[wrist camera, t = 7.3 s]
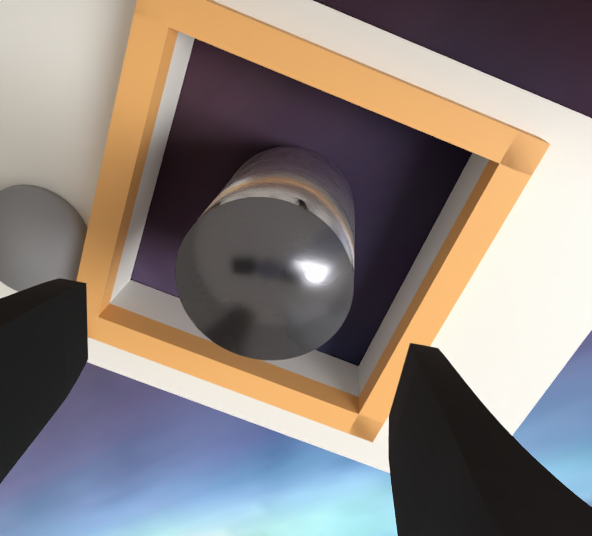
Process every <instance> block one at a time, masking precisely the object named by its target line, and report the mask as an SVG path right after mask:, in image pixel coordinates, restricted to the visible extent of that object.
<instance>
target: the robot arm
mask: <svg viewBox="0 0 592 536" xmlns="http://www.w3.org/2000/svg"><path fill="white" fill-rule="evenodd" d="M87 361H88V331H87V289H86V283H83V282H78V281H73V280H67V279H62V278H58V279H54V280H51V281H47V282H44V283H41V284H38V285H36V286H33V287H30V288H27V289H24V290H22V291H19V292H16V293H14V294H11V295H8V296H6V297H3V298H0V484H1V482H2V481H3V479H4V478H5V477H6V475H7V474H8V473H9V471H10V470H11V469H12V468H13V466H14V465H15V464H16V462H17V461H18V460H19V459H20V457H21V456H22V455H23V453H24V452H25V451H26V450H27V448H28V447H29V446H30V444H31V443H32V442H33V441H34V439H35V438H36V437H37V435H38V434H39V433H40V432H41V430H42V429H43V428H44V426H45V425H46V424H47V423H48V421H49V420H50V419H51V417H52V416H53V415H54V413H55V412H56V411H57V409H58V408H59V407H60V405H61V404H62V403H63V401H64V400H65V399H66V397H67V396H68V394H69V393H70V391H71V389H72V387H73V386H74V384H75V382H76V381H77V379H78V377H79V375H80V373H81V372H82V370H83V368H84V366H85V364H86V362H87ZM388 458H389V467H390V476H391V484H392V493H393V501H394V509H395V516H396V525H397V533H398V536H592V507H591V506H589V505H588V504H587V503H585V502H584V501H583V500H582V499H580V498H579V497H578V496H577V495H575V494H574V493H573V492H572V491H571V490H569V489H568V488H567V487H566V486H565V485H563V484H562V483H561V482H560V481H559V480H558V479H557V478H556V477H555V476H553V475H552V474H551V473H550V472H549V471H548V470H547V469H546V468H545V467H544V466H542V465H541V464H540V463H539V462H538V461H537V460H536V459H535V458H534V457H533V456H532V455H531V454H530V453H529V452H528V451H526V450H525V449H524V448H523V447H522V446H521V445H520V443H519V442H518V441H517V440H516V439H515V438H514V437H513V436H512V435H511V434H510V433H509V432H508V431H507V430H506V429H505V428H504V427H503V426H502V424H501V423H500V422H499V421H498V420H497V419H496V418H495V417H494V416H493V414H492V413H491V412H490V411H489V410H488V409H487V407H486V406H485V405H484V404H483V403H482V402H481V400H480V399H479V398H478V397H477V396H476V394H475V393H474V392H473V391H472V389H471V388H470V387H469V386H468V385H467V383H466V382H465V381H464V380H463V378H462V377H461V376H460V374H459V373H458V372H457V371H456V369H455V368H454V367H453V366H452V364H451V363H450V362H449V360H448V359H447V358H446V357H445V355H444V354H443V353H442V352H441V351H440V350H439V348H436V347H430V346H425V345H419V344H414V343H410V345H409V348H408V352H407V355H406V359H405V362H404V365H403V369H402V372H401V376H400V379H399V383H398V386H397V390H396V393H395V397H394V400H393V403H392V407H391V410H390V414H389V436H388Z"/></svg>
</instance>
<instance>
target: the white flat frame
mask: <svg viewBox="0 0 592 536" xmlns="http://www.w3.org/2000/svg"><path fill="white" fill-rule="evenodd" d="M195 38H196V39H198V40H201V41H203V42H206V43H208V44H211V45H213V46H215V47H218V48H220V49H223V50H225V51H228V52H230V53H232V54H235V55H237V56H240V57H242V58H244V59H247V60H249V61H252V62H254V63H257V64H259V65H261V66H264V67H266V68H269V69H271V70H274V71H276V72H278V73H281V74H283V75H286V76H288V77H291V78H293V79H295V80H298V81H300V82H303V83H305V84H308V85H310V86H312V87H315V88H317V89H320V90H322V91H325V92H327V93H329V94H332V95H334V96H337V97H339V98H342V99H344V100H346V101H349V102H351V103H354V104H356V105H359V106H361V107H363V108H366V109H368V110H371V111H373V112H376V113H378V114H380V115H383V116H385V117H388V118H390V119H393V120H395V121H397V122H400V123H402V124H405V125H407V126H410V127H412V128H414V129H417V130H419V131H422V132H424V133H426V134H429V135H431V136H434V137H436V138H439V139H441V140H443V141H446V142H448V143H451V144H453V145H456V146H458V147H460V148H463V149H465V150H468V151H470V152H473V153H472V154H471V156H470V158H469V160H468V162H467V164H466V166H465V168H464V169H463V171H462V173H461V175H460V177H459V179H458V181H457V183H456V184H455V186H454V188H453V190H452V192H451V194H450V196H449V198H448V199H447V201H446V203H445V205H444V207H443V209H442V211H441V213H440V214H439V216H438V218H437V220H436V222H435V224H434V226H433V228H432V229H431V231H430V233H429V235H428V237H427V239H426V241H425V243H424V244H423V246H422V248H421V250H420V252H419V254H418V256H417V258H416V259H415V261H414V263H413V265H412V267H411V269H410V271H409V273H408V274H407V276H406V278H405V280H404V282H403V284H402V286H401V288H400V289H399V291H398V293H397V295H396V297H395V299H394V301H393V303H392V304H391V306H390V308H389V310H388V312H387V314H386V316H385V318H384V319H383V321H382V323H381V325H380V327H379V329H378V331H377V333H376V334H375V336H374V338H373V340H372V342H371V344H370V346H369V348H368V349H367V351H366V353H365V355H364V357H363V359H362V361H361V363H360V364H359V366H357V365H354V364H351V363H349V362H346V361H343V360H341V359H338V358H335V357H333V356H330V355H328V354H325V353H322V352H320V351H317V350H313V351H311V352H309V353H307V354H304V355H301V356H298V357H295V358H290V359H285V360H258V359H252V358H248V357H244V356H240V355H238V354H235V353H232V352H230V351H228V350H226V349H224V348H222V347H220V346H219V345H217V344H216V343H214V342H212V341H211V340H210V339H209V338H207V337H206V336H205V335H204V334H203V333H202V332H201V331H200V330H199V329H198V328H197V327H196V326H195V325H194V323H193V322H192V321H191V320H190V318H189V316H188V315H187V313H186V312H185V310H184V308H183V306H182V303H181V301H180V298H177V297H175V296H172V295H169V294H167V293H164V292H162V291H159V290H156V289H154V288H151V287H148V286H146V285H143V284H140V283H138V282H135V281H133V280H130V279H131V275H132V271H133V267H134V264H135V260H136V256H137V252H138V249H139V245H140V241H141V237H142V234H143V230H144V226H145V222H146V219H147V215H148V211H149V207H150V204H151V200H152V196H153V192H154V189H155V185H156V181H157V178H158V174H159V170H160V166H161V163H162V159H163V155H164V151H165V148H166V144H167V140H168V136H169V133H170V129H171V125H172V121H173V118H174V114H175V110H176V106H177V103H178V99H179V95H180V91H181V88H182V84H183V80H184V76H185V73H186V69H187V65H188V61H189V58H190V54H191V50H192V46H193V43H194V39H195ZM58 278H62V279H67V280H73V281H78V282H83V283H86V289H87V331H88V361H87V362H89V363H91V364H94V365H97V366H100V367H102V368H105V369H108V370H111V371H113V372H116V373H119V374H121V375H124V376H127V377H130V378H132V379H135V380H138V381H140V382H143V383H146V384H149V385H151V386H154V387H157V388H159V389H162V390H165V391H168V392H170V393H173V394H176V395H179V396H181V397H184V398H187V399H189V400H192V401H195V402H198V403H200V404H203V405H206V406H208V407H211V408H214V409H217V410H219V411H222V412H225V413H228V414H230V415H233V416H236V417H238V418H241V419H244V420H247V421H249V422H252V423H255V424H257V425H260V426H263V427H266V428H268V429H271V430H274V431H276V432H279V433H282V434H285V435H287V436H290V437H293V438H296V439H298V440H301V441H304V442H306V443H309V444H312V445H315V446H317V447H320V448H323V449H325V450H328V451H331V452H334V453H336V454H339V455H342V456H345V457H347V458H350V459H353V460H355V461H358V462H361V463H364V464H366V465H369V466H372V467H374V468H377V469H380V470H383V471H385V472H388V473H390V467H389V458H388V436H389V414H390V410H391V407H392V403H393V400H394V397H395V393H396V390H397V386H398V383H399V379H400V376H401V372H402V369H403V365H404V362H405V359H406V355H407V352H408V348H409V345H410V343H414V344H419V345H425V346H430V347H436V348H439V350H440V351H441V352H442V353H443V354H444V355H445V357H446V358H447V359H448V360H449V362H450V363H451V364H452V366H453V367H454V368H455V369H456V371H457V372H458V373H459V374H460V376H461V377H462V378H463V380H464V381H465V382H466V383H467V385H468V386H469V387H470V388H471V389H472V391H473V392H474V393H475V394H476V396H477V397H478V398H479V399H480V400H481V402H482V403H483V404H484V405H485V406H486V407H487V409H488V410H489V411H490V412H491V413H492V414H493V416H494V417H495V418H496V419H497V420H498V421H499V422H500V423H501V424H502V426H503V427H504V428H505V429H506V430H507V431H508V432H509V433H510V434H511V435H513V434H514V432H515V431H516V430H517V428H518V427H519V426H520V424H521V423H522V422H523V420H524V419H525V418H526V416H527V415H528V414H529V412H530V411H531V410H532V408H533V407H534V406H535V404H536V403H537V402H538V400H539V399H540V398H541V396H542V395H543V394H544V392H545V391H546V390H547V388H548V387H549V386H550V384H551V383H552V382H553V380H554V379H555V378H556V376H557V375H558V374H559V372H560V371H561V370H562V368H563V367H564V366H565V364H566V363H567V362H568V360H569V359H570V358H571V356H572V355H573V354H574V352H575V351H576V350H577V348H578V347H579V346H580V344H581V343H582V342H583V340H584V339H585V338H586V336H587V335H588V334H589V332H590V331H591V330H592V118H590V117H587V116H585V115H583V114H580V113H578V112H575V111H573V110H571V109H568V108H566V107H564V106H561V105H559V104H557V103H554V102H552V101H549V100H547V99H545V98H542V97H540V96H538V95H535V94H533V93H531V92H528V91H526V90H523V89H521V88H519V87H516V86H514V85H512V84H509V83H507V82H504V81H502V80H500V79H497V78H495V77H493V76H490V75H488V74H486V73H483V72H481V71H478V70H476V69H474V68H471V67H469V66H467V65H464V64H462V63H460V62H457V61H455V60H452V59H450V58H448V57H445V56H443V55H441V54H438V53H436V52H434V51H431V50H429V49H426V48H424V47H422V46H419V45H417V44H415V43H412V42H410V41H408V40H405V39H403V38H400V37H398V36H396V35H393V34H391V33H389V32H386V31H384V30H382V29H379V28H377V27H374V26H372V25H370V24H367V23H365V22H363V21H360V20H358V19H356V18H353V17H351V16H348V15H346V14H344V13H341V12H339V11H337V10H334V9H332V8H329V7H327V6H325V5H322V4H320V3H318V2H315V1H313V0H0V298H3V297H6V296H8V295H11V294H14V293H16V292H19V291H22V290H24V289H27V288H30V287H33V286H36V285H38V284H41V283H44V282H47V281H51V280H54V279H58Z"/></svg>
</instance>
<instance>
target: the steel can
mask: <svg viewBox="0 0 592 536" xmlns="http://www.w3.org/2000/svg"><path fill="white" fill-rule="evenodd" d="M354 242H355V203H354V197H353V194H352V190H351V188H350V186H349V183H348V181H347V180H346V178H345V176H344V175H343V174H342V172H341V171H340V170H339V169H338V168H337V167H336V166H335V165H334V164H333V163H332V162H331V161H330V160H328V159H327V158H325V157H324V156H322V155H320V154H318V153H317V152H314V151H311V150H309V149H305V148H301V147H293V146H281V147H275V148H271V149H267V150H264V151H262V152H260V153H258V154H256V155H254V156H253V157H251V158H250V159H248V160H247V161H246V162H245V163H244V164H243V165H242V166H241V167H240V168H239V169H238V171H237V172H236V173H235V174H234V175H233V177H232V178H231V179H230V180H229V182H228V183H227V184H226V185H225V187H224V188H223V189H222V190H221V192H220V193H219V194H218V195H217V196H216V198H215V199H214V200H213V201H212V203H211V204H210V205H209V206H208V208H207V209H206V210H205V211H204V213H203V214H202V215H201V216H200V218H199V219H198V220H197V221H196V222H195V224H194V225H193V226H192V227H191V229H190V230H189V231H188V233H187V235H186V236H185V238H184V239H183V242H182V244H181V246H180V248H179V252H178V255H177V259H176V266H175V281H176V287H177V292H178V295H179V298H180V301H181V303H182V306H183V308H184V310H185V312H186V313H187V315H188V316H189V318H190V320H191V321H192V322H193V323H194V325H195V326H196V327H197V328H198V329H199V330H200V331H201V332H202V333H203V334H204V335H205V336H206V337H207V338H209V339H210V340H211V341H212V342H214V343H216V344H217V345H219V346H220V347H222V348H224V349H226V350H228V351H230V352H232V353H235V354H238V355H240V356H244V357H248V358H252V359H258V360H285V359H290V358H295V357H298V356H301V355H304V354H307V353H309V352H311V351H313V350H315V349H317V348H318V347H320V346H321V345H323V344H324V343H326V342H327V341H328V340H329V339H330V338H331V337H333V335H334V334H335V333H336V332H337V331H338V330H339V328H340V327H341V325H342V324H343V322H344V321H345V319H346V317H347V315H348V313H349V310H350V307H351V303H352V299H353V292H354Z"/></svg>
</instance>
